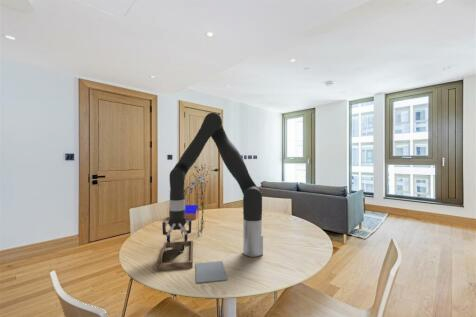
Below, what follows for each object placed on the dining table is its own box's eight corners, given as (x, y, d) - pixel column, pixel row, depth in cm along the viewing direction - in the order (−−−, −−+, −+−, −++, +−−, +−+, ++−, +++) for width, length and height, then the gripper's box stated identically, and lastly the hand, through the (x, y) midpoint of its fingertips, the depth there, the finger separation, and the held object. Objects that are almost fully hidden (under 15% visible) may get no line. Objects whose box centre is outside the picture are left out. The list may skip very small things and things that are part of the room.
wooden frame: (193, 245, 124) (193, 240, 124) (192, 267, 99) (192, 261, 99) (164, 247, 121) (164, 242, 121) (156, 270, 96) (156, 264, 96)
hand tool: (177, 250, 116) (177, 241, 116) (184, 251, 115) (184, 242, 115) (156, 263, 97) (156, 252, 98) (164, 264, 96) (165, 253, 97)
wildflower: (213, 230, 150) (213, 162, 150) (206, 243, 127) (206, 163, 127) (180, 229, 151) (180, 162, 151) (167, 242, 128) (167, 163, 128)
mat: (222, 261, 104) (222, 260, 104) (227, 280, 88) (227, 279, 88) (196, 264, 102) (196, 263, 102) (196, 283, 86) (196, 282, 86)
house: (196, 222, 169) (196, 206, 169) (169, 222, 169) (169, 206, 169) (198, 217, 181) (198, 203, 181) (173, 218, 181) (173, 203, 181)
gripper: (192, 206, 115) (192, 238, 115) (163, 207, 112) (162, 240, 112) (192, 209, 108) (192, 244, 108) (160, 211, 105) (160, 246, 105)
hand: (177, 242), depth 110 cm, fingers open, 7 cm apart
